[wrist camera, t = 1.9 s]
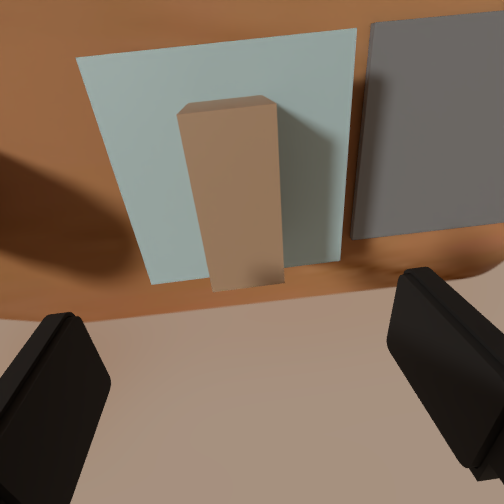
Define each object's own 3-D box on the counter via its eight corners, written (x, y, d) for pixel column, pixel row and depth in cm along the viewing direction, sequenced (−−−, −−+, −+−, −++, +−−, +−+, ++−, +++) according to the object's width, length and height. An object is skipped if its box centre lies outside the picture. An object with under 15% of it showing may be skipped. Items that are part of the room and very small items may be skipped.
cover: (349, 30, 16) (410, 11, 11) (335, 253, 23) (368, 305, 18) (83, 58, 16) (16, 52, 10) (154, 276, 23) (135, 336, 18)
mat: (659, -4, 20) (671, -6, 20) (555, 213, 29) (561, 215, 28) (371, 23, 20) (375, 22, 19) (350, 237, 28) (352, 240, 28)
